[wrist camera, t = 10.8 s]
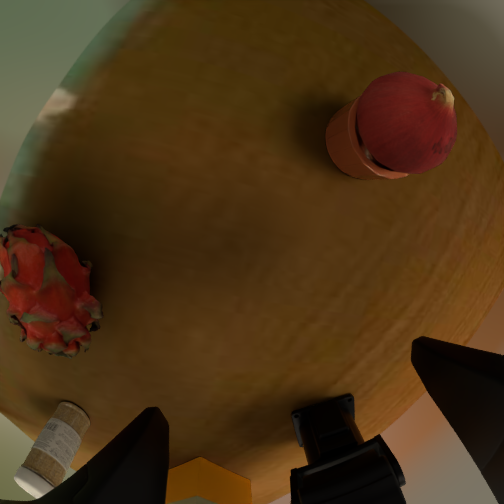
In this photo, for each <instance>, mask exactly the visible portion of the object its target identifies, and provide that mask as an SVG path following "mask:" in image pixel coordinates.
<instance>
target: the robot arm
mask: <svg viewBox="0 0 504 504" xmlns="http://www.w3.org/2000/svg"><path fill="white" fill-rule="evenodd" d="M411 362H412V364H413V366H414V368H415V370H416V372H417V373H418V375H419V377H420V379H421V381H422V382H423V384H424V386H425V388H426V390H427V391H428V393H429V395H430V396H431V397H432V399H433V400H434V402H435V403H436V405H437V406H438V408H439V409H440V410H441V412H442V413H443V415H444V416H445V418H446V419H447V420H448V422H449V424H450V425H451V427H452V428H453V429H454V431H455V432H456V434H457V435H458V437H459V438H460V440H461V442H462V443H463V444H464V446H465V448H466V449H467V451H468V452H469V454H470V455H471V457H472V459H473V460H474V462H475V463H476V465H477V467H478V468H479V470H480V471H481V474H482V475H483V477H484V479H485V480H486V482H487V484H488V486H489V487H490V489H491V491H492V493H493V494H494V496H495V498H496V500H497V502H498V503H499V504H504V355H501V354H496V353H492V352H487V351H483V350H478V349H474V348H470V347H466V346H461V345H457V344H453V343H449V342H445V341H441V340H437V339H433V338H429V337H425V336H421V337H419V338H417V339H415V340H413V342H412V350H411ZM349 398H350V399H349ZM291 416H292V420H293V424H294V428H295V432H296V435H297V439H298V443H299V446H300V447H304V450H305V454H306V458H307V462H308V465H306V466H303V467H300V468H294V469H291V476H290V488H291V504H406V501H405V498H404V496H403V493H402V491H401V488H400V487H402V486H403V485H405V484H406V483H405V478H404V475H403V472H402V469H401V467H400V465H399V463H398V461H397V459H396V458H395V456H394V455H393V453H392V452H391V450H390V449H389V447H388V446H387V444H386V443H385V442H384V440H383V438H382V437H381V435H380V434H378V435H376V436H374V438H372V439H370V440H368V441H366V442H364V440H363V438H362V436H361V434H360V431H359V429H358V427H357V425H356V423H355V414H354V397H353V395H352V394H348V395H345V396H342V397H339V398H336V399H333V400H330V401H327V402H324V403H320V404H317V405H314V406H310V407H307V408H303V409H299V410H295V411H293V412H292V413H291ZM168 470H169V424H168V421H167V420H166V418H165V417H164V415H163V413H162V412H161V410H160V409H159V408H158V407H147V408H146V409H144V410H143V411H142V412H141V413H140V414H139V415H138V416H137V417H136V418H135V419H134V420H133V421H132V422H131V423H130V424H129V425H128V426H127V427H125V428H124V429H123V430H122V431H121V432H120V433H119V434H118V435H117V436H116V437H115V438H114V439H113V440H112V441H110V442H109V443H108V444H107V445H106V446H105V447H104V448H103V449H102V450H101V451H99V452H98V453H97V454H96V455H95V456H94V457H93V458H92V459H91V460H89V461H88V462H87V464H85V465H84V466H83V467H81V468H80V469H79V470H78V471H77V472H76V473H74V474H73V475H72V476H71V477H70V478H68V479H67V480H65V481H64V482H63V483H61V484H60V485H58V486H57V487H55V488H54V489H52V490H51V491H49V492H48V493H46V494H45V495H43V496H42V497H40V498H38V499H36V500H32V501H12V500H1V499H0V504H165V501H166V490H167V480H168Z"/></svg>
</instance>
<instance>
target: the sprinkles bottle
mask: <svg viewBox="0 0 504 504" xmlns="http://www.w3.org/2000/svg"><path fill="white" fill-rule="evenodd" d="M89 426H90V420H89V418H88V416H87V415H86V413H85V412H84V411H83V410H82V409H80V408H79V407H78V406H76V405H74V404H72V403H70V402H61V403H60V404H59V406H58V409H57V410H56V412H55V413H54V415H53V416H52V418H51V419H49V421H48V422H47V424H46V425H45V427H44V429H43V430H42V432H41V433H40V435H39V436H38V438H37V440H36V441H35V443H34V445H33V446H32V448H31V451H30V453H29V455H28V456H27V458H26V460H25V462H24V463H23V464H22V465H21V467H19V468H18V470H17V472H16V474H15V476H14V479H15V481H16V482H17V483H18V485H19V486H20V487H22V488H23V489H24V490H25V491H26V492H28V493H29V494H31V495H32V496H33V497H35V498H36V499H38V498H40V497H42V496H43V495H45V494H46V493H48V492H49V491H51V490H52V489H54V488H55V487H57V486H58V485H60V484H61V483H62V480H63V478H64V476H65V474H66V472H67V471H68V469H69V467H70V464H71V462H72V460H73V458H74V456H75V454H76V452H77V450H78V448H79V446H80V444H81V440H82V438H83V436H84V434H85V432H86V430H87V429H88V428H89Z"/></svg>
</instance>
